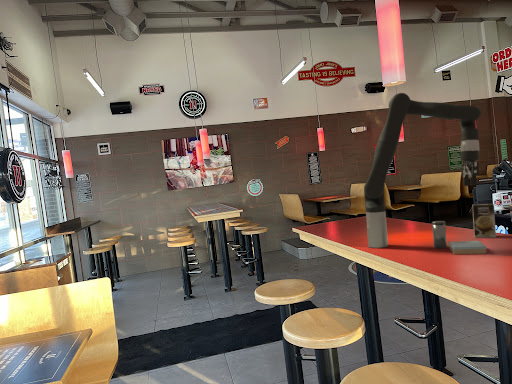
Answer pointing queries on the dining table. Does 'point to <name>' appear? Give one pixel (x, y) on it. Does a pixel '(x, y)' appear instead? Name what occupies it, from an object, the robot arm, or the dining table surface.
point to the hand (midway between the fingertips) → (469, 185)
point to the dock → (467, 247)
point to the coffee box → (484, 221)
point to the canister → (439, 234)
